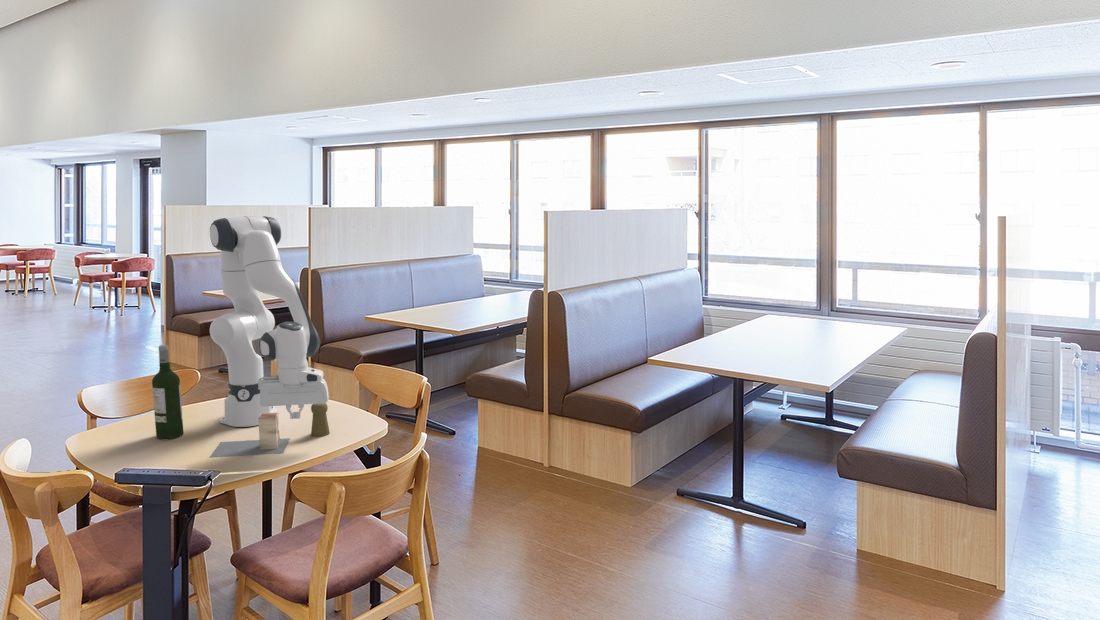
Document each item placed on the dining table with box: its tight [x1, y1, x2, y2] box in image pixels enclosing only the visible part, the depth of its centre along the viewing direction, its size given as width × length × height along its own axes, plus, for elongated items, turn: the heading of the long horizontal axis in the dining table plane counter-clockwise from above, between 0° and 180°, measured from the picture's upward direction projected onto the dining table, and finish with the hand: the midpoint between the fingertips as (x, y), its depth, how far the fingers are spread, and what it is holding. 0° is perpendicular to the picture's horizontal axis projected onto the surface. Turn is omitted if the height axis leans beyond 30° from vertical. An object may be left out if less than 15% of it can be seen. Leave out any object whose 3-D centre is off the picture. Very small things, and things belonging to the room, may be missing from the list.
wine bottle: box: [151, 344, 184, 440], centre depth 239 cm, size 8×8×30 cm
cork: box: [310, 402, 331, 438], centre depth 242 cm, size 6×6×11 cm
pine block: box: [258, 412, 281, 450], centre depth 229 cm, size 5×5×10 cm
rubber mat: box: [209, 437, 291, 458], centre depth 229 cm, size 14×21×1 cm, turn 101°
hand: (295, 418), depth 230 cm, fingers closed
